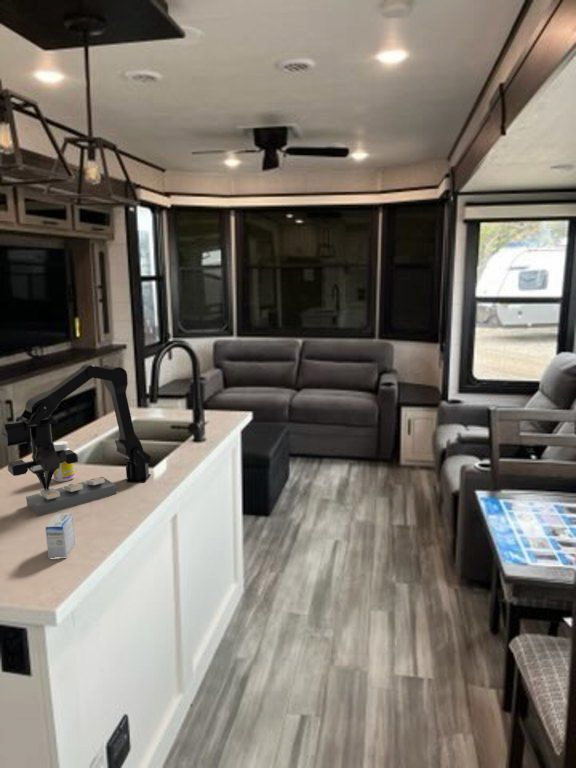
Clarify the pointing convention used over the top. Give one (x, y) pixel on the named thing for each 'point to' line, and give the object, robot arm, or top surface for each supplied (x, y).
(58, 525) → the medicine box
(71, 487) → the rocker middle
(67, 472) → the supplement bottle
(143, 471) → the robot arm
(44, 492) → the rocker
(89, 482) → the block
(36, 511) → the rocker switch panel
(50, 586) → the top surface
